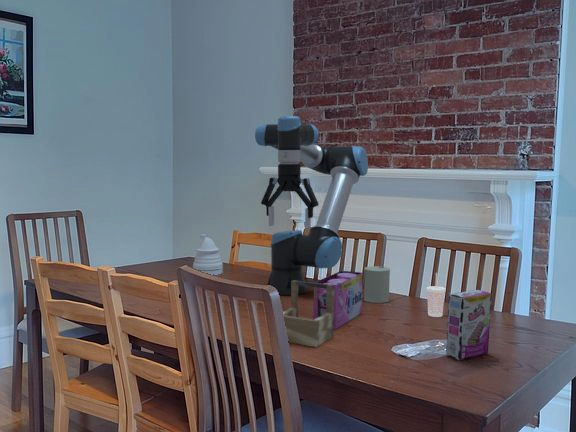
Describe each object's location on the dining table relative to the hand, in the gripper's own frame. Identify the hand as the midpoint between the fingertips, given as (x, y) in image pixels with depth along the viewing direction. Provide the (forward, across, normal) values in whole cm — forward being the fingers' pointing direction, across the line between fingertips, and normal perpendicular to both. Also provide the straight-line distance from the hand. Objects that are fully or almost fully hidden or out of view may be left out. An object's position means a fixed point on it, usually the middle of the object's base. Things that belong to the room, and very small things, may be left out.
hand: (289, 226), depth 199 cm
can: (+28, +24, +24) cm, 44 cm away
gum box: (+28, +20, -7) cm, 35 cm away
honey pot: (+29, -55, +33) cm, 70 cm away
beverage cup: (+28, +47, +12) cm, 56 cm away
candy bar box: (+28, +63, -24) cm, 73 cm away
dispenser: (+27, +19, -29) cm, 44 cm away
